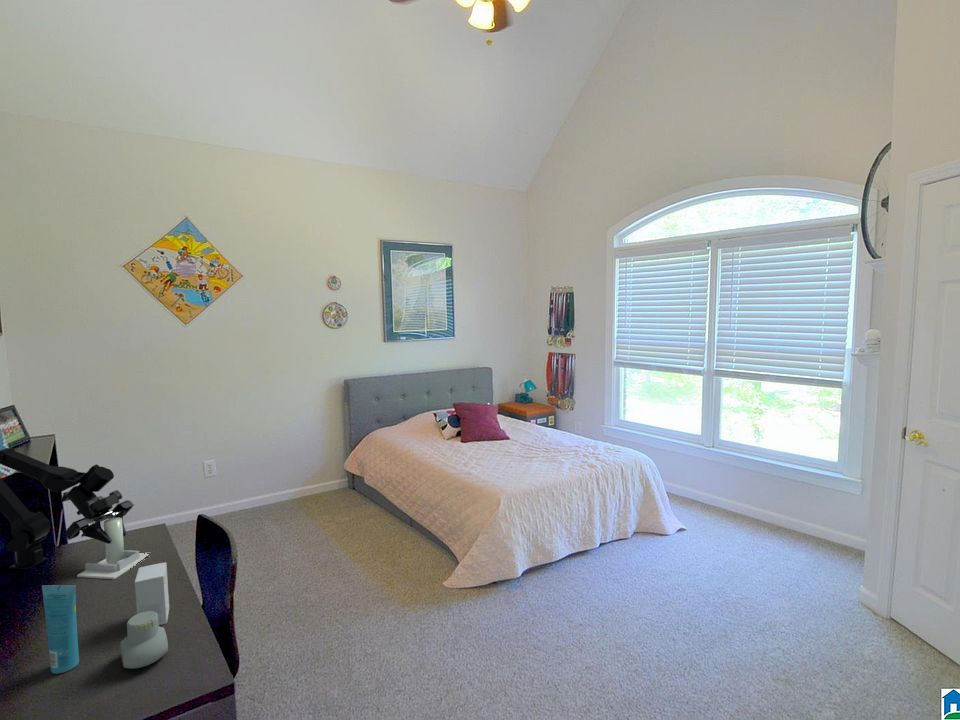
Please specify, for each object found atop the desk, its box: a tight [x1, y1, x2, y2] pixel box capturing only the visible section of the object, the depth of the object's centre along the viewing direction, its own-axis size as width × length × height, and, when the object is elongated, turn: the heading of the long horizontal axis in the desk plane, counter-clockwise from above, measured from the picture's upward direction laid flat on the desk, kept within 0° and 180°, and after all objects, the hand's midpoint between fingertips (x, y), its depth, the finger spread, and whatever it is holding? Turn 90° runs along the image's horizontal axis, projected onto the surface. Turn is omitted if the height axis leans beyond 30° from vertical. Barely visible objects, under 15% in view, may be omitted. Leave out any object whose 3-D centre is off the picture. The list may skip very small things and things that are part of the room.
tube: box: [41, 584, 80, 675], centre depth 110 cm, size 7×5×19 cm, turn 96°
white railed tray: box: [76, 549, 149, 580], centre depth 155 cm, size 12×15×3 cm
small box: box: [133, 562, 170, 626], centre depth 127 cm, size 8×6×13 cm
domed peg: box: [103, 518, 125, 563], centre depth 154 cm, size 5×5×12 cm
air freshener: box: [119, 611, 169, 670], centre depth 113 cm, size 11×8×10 cm
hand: (117, 539), depth 154 cm, fingers closed on domed peg, 5 cm apart
